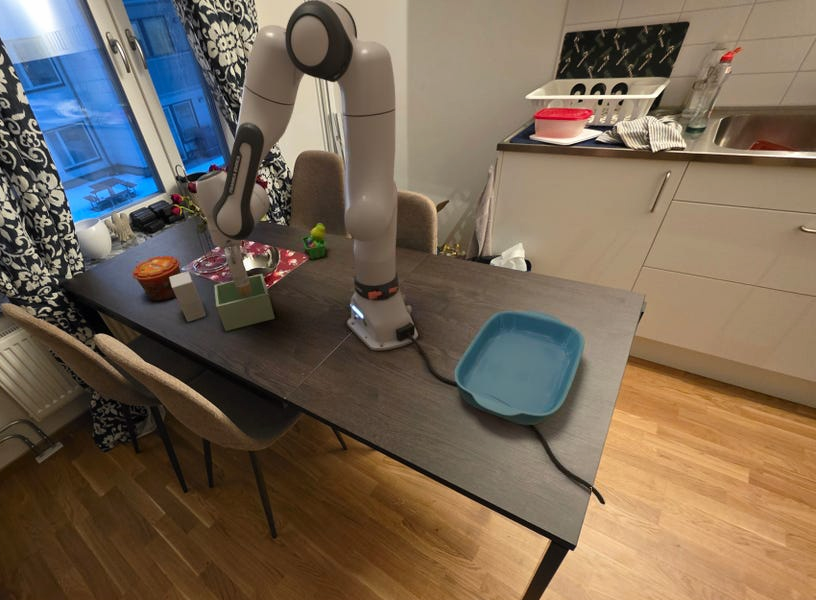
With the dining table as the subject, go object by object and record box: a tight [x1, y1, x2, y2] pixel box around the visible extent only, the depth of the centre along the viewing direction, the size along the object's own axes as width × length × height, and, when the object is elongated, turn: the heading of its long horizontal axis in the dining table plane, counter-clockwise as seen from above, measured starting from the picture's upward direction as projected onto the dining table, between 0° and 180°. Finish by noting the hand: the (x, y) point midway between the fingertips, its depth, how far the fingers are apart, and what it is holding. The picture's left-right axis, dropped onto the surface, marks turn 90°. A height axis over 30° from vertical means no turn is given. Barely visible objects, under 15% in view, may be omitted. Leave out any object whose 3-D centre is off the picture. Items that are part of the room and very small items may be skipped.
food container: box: [132, 255, 182, 302], centre depth 138 cm, size 16×16×11 cm
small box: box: [169, 271, 207, 323], centre depth 124 cm, size 8×6×13 cm
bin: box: [213, 273, 276, 332], centre depth 122 cm, size 14×16×9 cm
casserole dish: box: [453, 310, 585, 426], centre depth 89 cm, size 37×22×7 cm, turn 145°
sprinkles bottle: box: [224, 250, 252, 296], centre depth 116 cm, size 5×5×14 cm
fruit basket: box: [301, 222, 327, 260], centre depth 149 cm, size 11×9×11 cm
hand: (240, 278), depth 117 cm, fingers closed on sprinkles bottle, 4 cm apart
